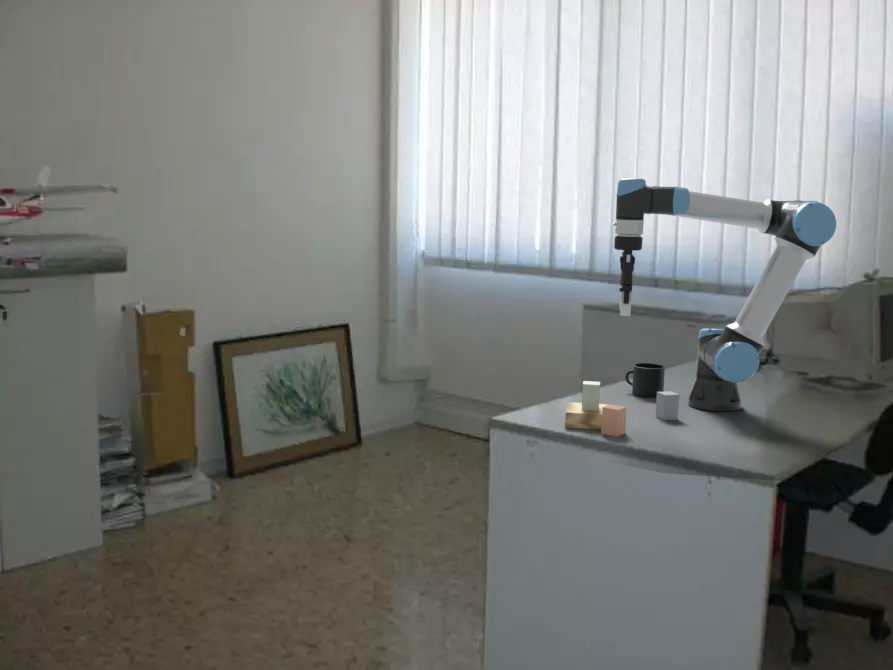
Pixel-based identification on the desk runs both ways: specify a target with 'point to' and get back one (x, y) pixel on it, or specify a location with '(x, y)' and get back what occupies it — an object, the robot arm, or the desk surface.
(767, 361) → the desk surface
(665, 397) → the slate brick
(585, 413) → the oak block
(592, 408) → the sage brick
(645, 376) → the mug
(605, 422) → the terracotta brick
